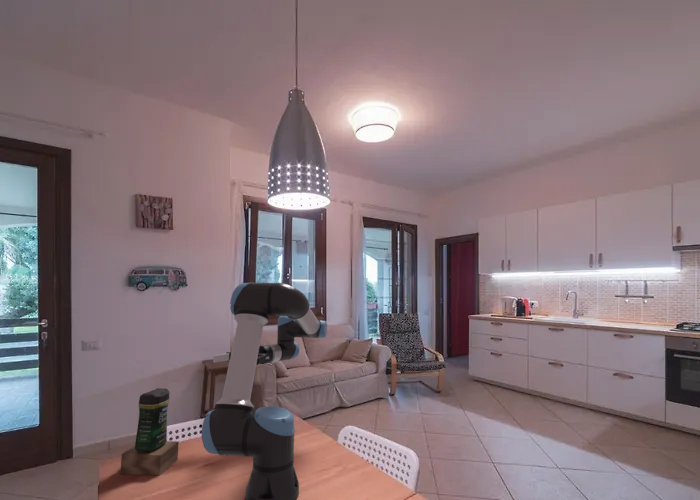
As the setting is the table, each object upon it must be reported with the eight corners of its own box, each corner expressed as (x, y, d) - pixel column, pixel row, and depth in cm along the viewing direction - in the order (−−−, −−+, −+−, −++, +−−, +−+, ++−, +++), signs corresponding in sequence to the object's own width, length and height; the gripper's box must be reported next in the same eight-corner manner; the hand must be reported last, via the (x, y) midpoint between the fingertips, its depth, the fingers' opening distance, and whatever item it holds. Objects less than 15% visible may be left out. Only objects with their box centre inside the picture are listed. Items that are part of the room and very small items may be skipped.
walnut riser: (177, 459, 128) (178, 441, 129) (159, 475, 117) (160, 455, 118) (141, 458, 129) (142, 440, 129) (120, 473, 118) (121, 454, 119)
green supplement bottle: (152, 454, 119) (156, 394, 121) (130, 452, 120) (134, 393, 122) (170, 442, 128) (174, 386, 130) (149, 440, 129) (153, 386, 131)
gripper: (287, 367, 148) (243, 376, 132) (249, 359, 164) (205, 366, 147) (288, 347, 149) (244, 354, 132) (250, 342, 164) (206, 347, 148)
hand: (223, 361), depth 140 cm, fingers open, 13 cm apart
